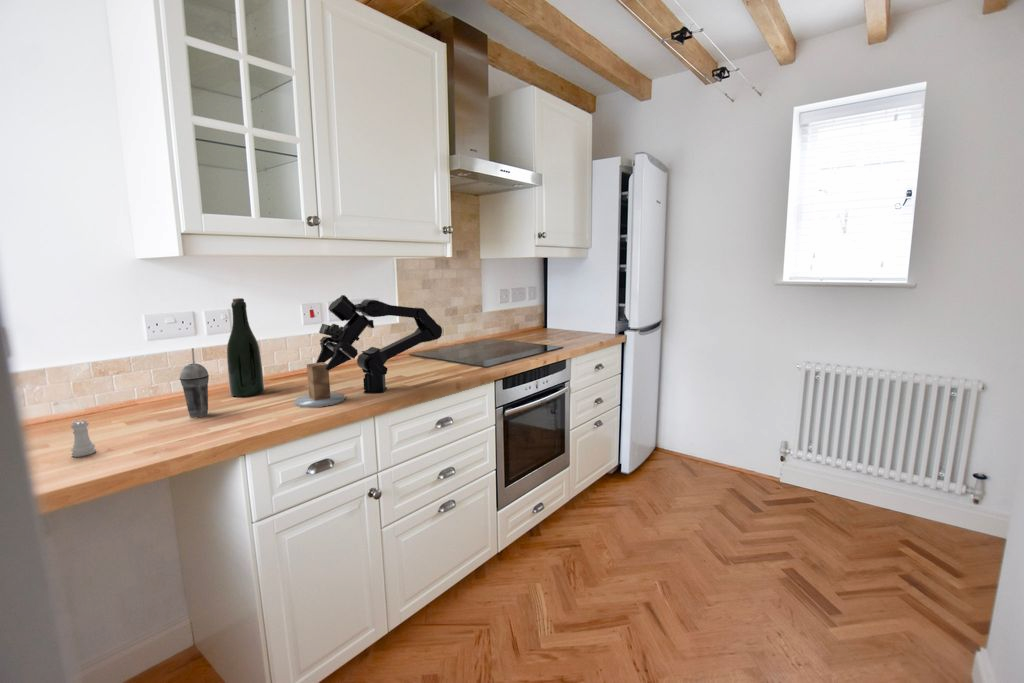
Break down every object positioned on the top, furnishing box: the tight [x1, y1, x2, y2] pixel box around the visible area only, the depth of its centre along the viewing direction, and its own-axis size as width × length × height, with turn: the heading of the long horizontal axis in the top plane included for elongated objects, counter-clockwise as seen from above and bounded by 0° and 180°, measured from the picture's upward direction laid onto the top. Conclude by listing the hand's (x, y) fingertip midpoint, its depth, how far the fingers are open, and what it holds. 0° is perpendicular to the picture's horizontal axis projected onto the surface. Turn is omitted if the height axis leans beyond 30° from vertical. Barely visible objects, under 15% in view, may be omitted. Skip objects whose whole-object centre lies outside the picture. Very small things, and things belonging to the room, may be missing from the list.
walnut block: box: [306, 362, 331, 401], centre depth 157 cm, size 5×5×11 cm
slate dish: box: [294, 391, 346, 408], centre depth 158 cm, size 15×15×1 cm
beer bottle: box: [226, 297, 265, 398], centre depth 167 cm, size 10×10×33 cm
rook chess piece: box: [70, 419, 97, 458], centre depth 115 cm, size 4×4×8 cm
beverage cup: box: [179, 348, 210, 418], centre depth 143 cm, size 7×7×20 cm
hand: (321, 367), depth 157 cm, fingers open, 9 cm apart
